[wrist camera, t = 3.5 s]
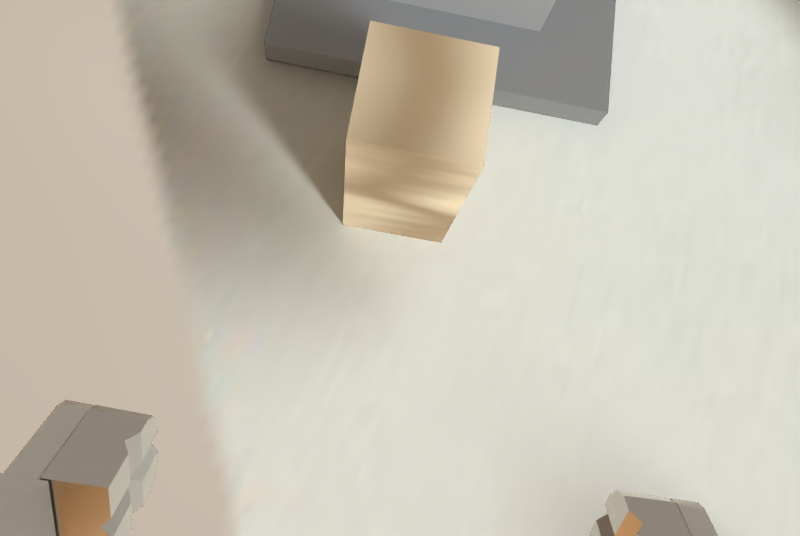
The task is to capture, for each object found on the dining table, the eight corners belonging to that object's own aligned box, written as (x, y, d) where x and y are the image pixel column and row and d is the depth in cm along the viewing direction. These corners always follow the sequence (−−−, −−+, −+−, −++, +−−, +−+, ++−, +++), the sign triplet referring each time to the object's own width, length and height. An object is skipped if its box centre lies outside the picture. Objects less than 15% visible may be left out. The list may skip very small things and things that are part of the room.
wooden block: (454, 153, 28) (499, 46, 20) (441, 242, 26) (484, 165, 19) (360, 135, 27) (370, 20, 20) (342, 224, 26) (346, 138, 19)
